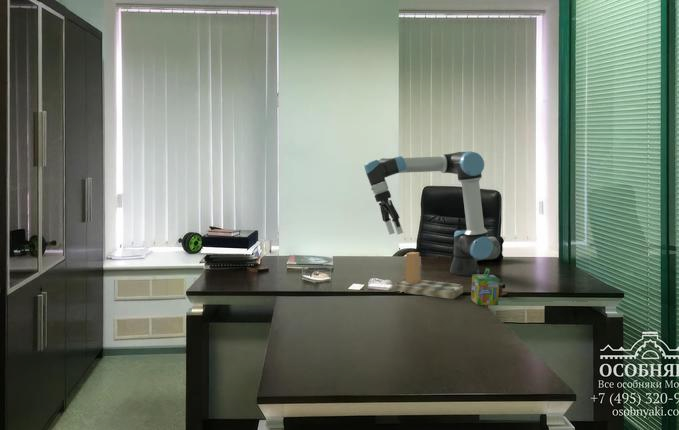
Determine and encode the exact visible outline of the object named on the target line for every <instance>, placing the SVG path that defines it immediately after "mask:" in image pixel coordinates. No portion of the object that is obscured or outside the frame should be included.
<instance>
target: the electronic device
mask: <svg viewBox="0 0 679 430" xmlns="http://www.w3.org/2000/svg"><path fill="white" fill-rule="evenodd" d="M502 289H503V290H504V289H506V284H504V283H501V280H500V278H499V294H498V297H500V298H503V297H506V295H508V293H507V292H505V291H502Z"/></svg>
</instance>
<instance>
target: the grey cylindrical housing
mask: <svg viewBox="0 0 679 430" xmlns="http://www.w3.org/2000/svg"><path fill="white" fill-rule="evenodd" d="M488 238H490V240H491V241H492V243H493V250H492V252H491V254H490V255H489V256H488V257H486V258H484V259H476V261H477V262H478V261H487V260H488V261H489V260H496V261H498V262H502V261H503V259H504V255H503V249H504V248H503V247H504V246H503V245H504V241H505V240H504V238H503V237H502V236H501V235H499V236H496V235H491V234H489V233H488ZM451 242H452V255H451V260H452V261H453V259H454V237H453V238H452V240H451Z"/></svg>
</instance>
